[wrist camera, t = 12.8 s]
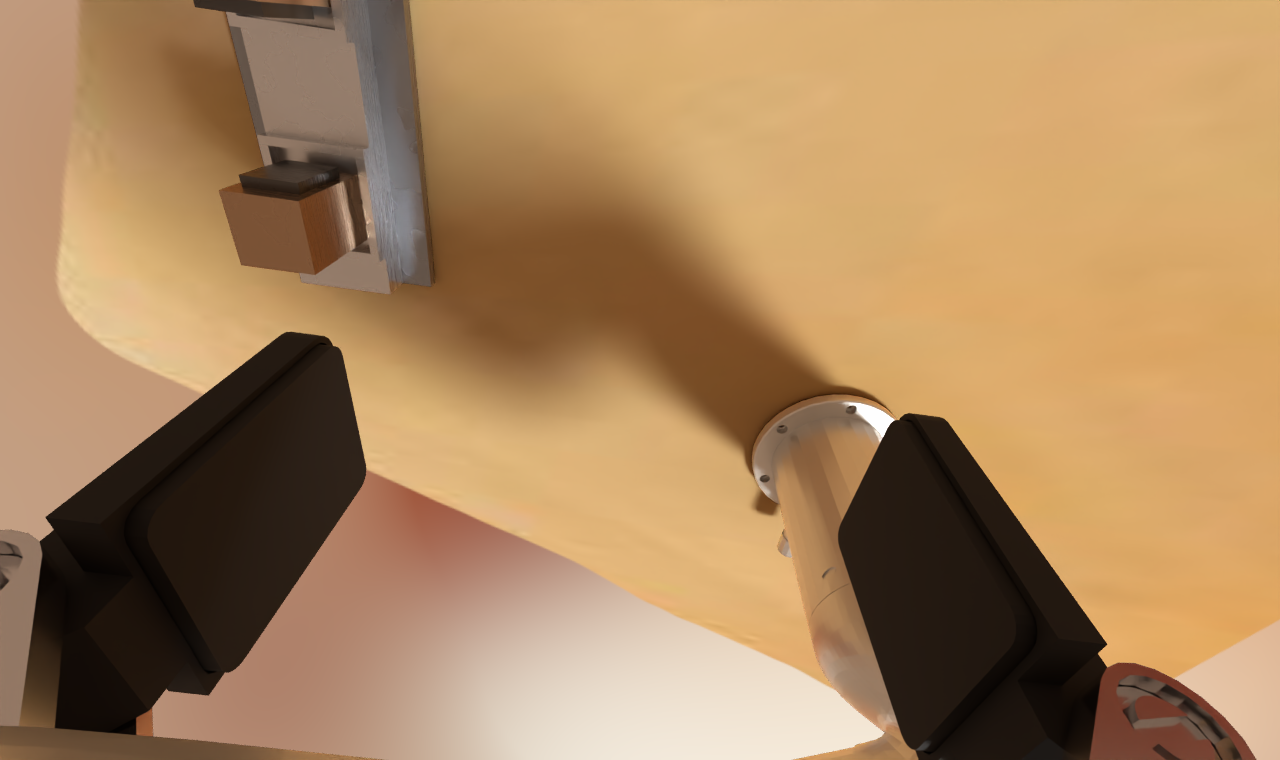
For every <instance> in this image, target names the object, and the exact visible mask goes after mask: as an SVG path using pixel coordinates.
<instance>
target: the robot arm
mask: <svg viewBox="0 0 1280 760" xmlns="http://www.w3.org/2000/svg"><path fill="white" fill-rule="evenodd" d="M752 468H753V472H754V476H755V479H756V482H757V484H758V486H759V488H760V489H761V490H762V491H763V492H764V494H765V495H766V496H767V497H769V498H770V499H771V500H773V501H774V502H775V503H777V504H779V505H780V508H781V512H782V517H783V521H784V525H785V529H784V530H783V532H782V535H781V537H780V540H779V542H778V545H777V547H778V550H779V552H780V553H781V554H783V555H784V556H786V557H790V558H791V557H792V559H793V564H794V568H795V572H796V576H797V581H798V585H799V589H800V594H801V598H802V602H803V606H804V611H805V615H806V619H807V623H808V628H809V632H810V635H811V640H812V644H813V648H814V652H815V655H816V658H817V660H818V663H819V665H820V667H821V669H822V671H823V673H824V674H825V676H826V678H827V679H828V681H829V682H830V684H831V685H832V686H833V687H834V689H835V690H836V691H837V692H838V693H839V694H840V695H841V696H842V697H843V698H844V699H845V700H846V701H847V702H848V703H849V704H850V705H851V706H852V707H854V708H855V709H856V710H857V711H858V712H859V713H861V714H862V715H863V716H865V717H866V718H867V719H868V720H869V721H871V722H872V723H873V724H874V725H876V726H877V727H878V728H880V729H881V730H882V731H883V732H885V733H884V735H883V736H882V737H880V738H878V739H876V740H873V741H869V742H866V743H862V744H857V745H855V747H853V748H848V749H843V750H839V751H833V752H829V753H823V754H819V755H814V756H809V757H804V758H799V759H794V760H1256V758H1255V756H1254V755H1253V753H1252V752H1251V750H1250V749H1249V747H1248V746H1247V744H1246V742H1245V741H1244V739H1243V738H1242V737H1241V736H1240V734H1239V733H1238V732H1237V731H1236V730H1235V729H1234V728H1233V727H1232V726H1231V724H1230V723H1229V722H1228V721H1227V720H1226V719H1225V718H1224V717H1223V716H1222V715H1221V714H1220V713H1219V712H1218V711H1217V710H1215V709H1214V708H1213V707H1212V706H1211V705H1210V704H1209V703H1207V702H1206V701H1205V700H1204V699H1203V698H1202V697H1201V696H1199V695H1198V694H1196V693H1195V692H1193V691H1192V690H1190V689H1189V688H1187V687H1186V686H1184V685H1183V684H1181V683H1180V682H1179V681H1177V680H1175V679H1173V678H1171V677H1169V676H1167V675H1165V674H1163V673H1161V672H1159V671H1157V670H1155V669H1152V668H1149V667H1145V666H1142V665H1139V664H1136V663H1116V664H1114V665H1112V666H1110V667H1107V666H1106V665H1105V663H1104V662H1103V661H1102V659H1101V658H1100V656H1099V655H1098V653H1099V652H1100V651H1101V650H1102V649H1103V648H1104V647H1105V646H1106V645H1107V643H1106V642H1105V640H1104V639H1103V638H1102V636H1101V635H1100V633H1099V632H1098V631H1097V629H1096V628H1095V626H1094V625H1093V624H1092V622H1091V621H1090V620H1089V618H1088V617H1087V615H1086V614H1085V613H1084V611H1083V610H1082V608H1081V607H1080V606H1079V604H1078V603H1077V601H1076V600H1075V599H1074V597H1073V596H1072V594H1071V593H1070V592H1069V590H1068V589H1067V587H1066V586H1065V585H1064V583H1063V582H1062V581H1061V579H1060V578H1059V576H1058V575H1057V574H1056V572H1055V571H1054V569H1053V568H1052V567H1051V565H1050V564H1049V562H1048V561H1047V560H1046V558H1045V557H1044V555H1043V554H1042V553H1041V551H1040V550H1039V548H1038V547H1037V546H1036V544H1035V543H1034V541H1033V540H1032V539H1031V537H1030V536H1029V535H1028V533H1027V532H1026V530H1025V529H1024V528H1023V526H1022V525H1021V523H1020V522H1019V521H1018V519H1017V518H1016V516H1015V515H1014V514H1013V512H1012V511H1011V509H1010V508H1009V507H1008V505H1007V504H1006V502H1005V501H1004V500H1003V498H1002V497H1001V496H1000V494H999V493H998V491H997V490H996V489H995V487H994V486H993V484H992V483H991V482H990V480H989V479H988V477H987V476H986V475H985V473H984V472H983V470H982V469H981V468H980V466H979V465H978V463H977V462H976V461H975V459H974V458H973V457H972V455H971V454H970V452H969V451H968V450H967V448H966V447H965V445H964V444H963V443H962V441H961V440H960V438H959V437H958V436H957V434H956V433H955V431H954V430H953V429H952V427H951V426H950V424H949V423H948V422H947V421H946V420H945V419H944V418H940V417H934V416H927V415H919V414H911V413H908V414H905V415H903V416H902V417H901V418H900V420H897V419H896V418H895V417H894V416H893V415H892V414H891V413H890V412H889V411H888V410H887V409H886V408H885V407H883V406H881V405H880V404H878V403H876V402H874V401H871V400H869V399H866V398H863V397H858V396H853V395H835V394H832V395H825V396H818V397H814V398H810V399H807V400H804V401H801V402H799V403H796V404H794V405H792V406H790V407H788V408H786V409H785V410H783V411H782V412H780V413H779V414H777V415H776V416H775V417H774V418H773V419H772V420H771V421H769V422H768V423H767V424H766V425H765V427H764V428H763V430H762V431H761V432H760V434H759V435H758V437H757V439H756V442H755V444H754V447H753V452H752ZM365 476H366V463H365V459H364V454H363V449H362V445H361V440H360V435H359V430H358V426H357V421H356V416H355V412H354V407H353V402H352V397H351V393H350V388H349V383H348V379H347V374H346V369H345V364H344V360H343V355H342V352H341V350H340V349H339V348H338V347H336V346H333V345H332V343H331V341H330V340H329V339H328V338H327V337H325V336H319V335H311V334H303V333H296V332H286V333H284V334H282V335H280V336H279V337H278V338H276V339H275V340H274V341H273V342H271V343H270V344H269V345H267V346H266V347H265V348H264V349H262V350H261V351H260V352H258V353H257V354H256V355H254V356H253V357H252V358H251V359H249V360H248V361H247V362H245V363H244V364H243V365H242V366H240V367H239V368H238V369H236V370H235V371H234V372H232V373H231V374H230V375H229V376H227V377H226V378H225V379H223V380H222V381H221V382H220V383H218V384H217V385H216V386H214V387H213V388H212V389H211V390H209V391H208V392H207V393H205V394H204V395H203V396H201V397H200V398H199V399H198V400H196V401H195V402H194V403H192V404H191V405H190V406H189V407H187V408H186V409H185V410H183V411H182V412H181V413H180V414H178V415H177V416H176V417H175V418H173V419H172V420H170V421H169V422H168V423H167V424H165V425H164V426H163V427H161V428H160V429H159V430H158V431H156V432H155V433H154V434H152V435H151V436H150V437H148V438H147V439H146V440H145V441H143V442H142V443H141V444H139V445H138V446H137V447H136V448H134V449H133V450H132V451H130V452H129V453H128V454H126V455H125V456H124V457H123V458H121V459H120V460H119V461H117V462H116V463H115V464H114V465H112V466H111V467H110V468H108V469H107V470H106V471H105V472H103V473H102V474H101V475H99V476H98V477H97V478H96V479H94V480H93V481H92V482H91V483H89V484H88V485H86V486H85V487H84V488H83V489H81V490H80V491H79V492H77V493H76V494H75V495H73V496H72V497H71V498H70V499H68V500H67V501H66V502H65V503H63V504H62V505H61V506H59V507H58V508H57V509H55V510H54V511H53V512H52V513H50V514H49V515H48V516H46V519H47V520H48V522H49V523H50V524H51V526H52V527H53V529H54V530H53V531H52V532H51V533H50V534H49V535H47V536H46V537H45V538H43V539H42V540H41V541H40V542H39V541H38V540H37V539H36V538H34V537H33V536H32V535H30V534H29V533H24V532H19V531H14V530H0V760H382V759H372V758H363V757H353V756H342V755H333V754H324V753H314V752H304V751H295V750H284V749H275V748H265V747H256V746H246V745H237V744H227V743H217V742H208V741H198V740H187V739H175V738H163V737H153V712H152V707H153V705H154V704H155V703H156V701H157V700H158V698H160V696H161V695H162V694H163V692H164V691H165V690H166V688H167V690H168V691H173V692H181V693H190V694H199V695H200V694H201V695H209V694H210V693H211V692H212V690H213V689H214V687H215V686H216V684H217V683H218V681H219V680H220V679H221V677H222V676H223V674H224V673H225V672H231V671H233V670H234V669H236V668H237V667H238V666H239V665H240V664H241V663H242V661H243V660H244V659H245V657H246V656H247V654H248V653H249V651H250V650H251V648H252V647H253V645H254V644H255V643H256V641H257V640H258V638H259V637H260V635H261V634H262V632H263V631H264V629H265V628H266V627H267V625H268V623H269V622H270V621H271V619H272V618H273V616H274V615H275V613H276V612H277V610H278V609H279V607H280V606H281V604H282V603H283V602H284V600H285V598H286V597H287V596H288V594H289V593H290V591H291V589H292V588H293V587H294V585H295V584H296V582H297V581H298V580H299V578H300V577H301V575H302V574H303V572H304V571H305V569H306V568H307V566H308V565H309V563H310V562H311V560H312V559H313V557H314V556H315V555H316V553H317V552H318V550H319V549H320V547H321V546H322V544H323V543H324V541H325V540H326V538H327V537H328V535H329V534H330V532H331V531H332V529H333V528H334V527H335V525H336V524H337V522H338V521H339V519H340V518H341V516H342V515H343V513H344V512H345V510H346V509H347V507H348V506H349V505H350V503H351V502H352V500H353V499H354V497H355V496H356V494H357V493H358V491H359V490H360V488H361V487H362V485H363V482H364V479H365Z"/></svg>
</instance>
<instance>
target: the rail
mask: <svg viewBox="0 0 1280 760" xmlns="http://www.w3.org/2000/svg"><path fill="white" fill-rule="evenodd" d="M330 1H331V7H321V6H312V8H313V14H314V19H292V18H268V17H258V16H252V15H245V14H238V13H232V12H226V15H227V19H228V23H229V27H230V31H231V35H232V39H233V43H234V47H235V51H236V55H237V59H238V63H239V67H240V71H241V75H242V79H243V83H244V87H245V91H246V95H247V99H248V103H249V107H250V111H251V115H252V119H253V123H254V127H255V131H256V135H257V139H258V143H259V147H260V151H261V155H262V159H263V163H264V167H261V168H258V169H255V170H252V171H249V172H246V173H243V174H240V175H239V177H240V181H241V183H238V184H235V185H232V186H229V187H227V188H224V189H221V190H219V193H220V196H221V199H222V203H223V206H224V209H225V213H226V216H227V219H228V223H229V226H230V229H231V233H232V236H233V239H234V242H235V246H236V249H237V252H238V256H239V259H240V262H241V265H244V266H252V267H259V268H266V269H274V270H281V271H289V272H296V273H299V274H300V278H301V282H302V283H309V284H316V285H324V286H331V287H339V288H346V289H354V290H361V291H369V292H376V293H383V294H392V293H393V292H394V291H395V290H396V289H397V288H398V287H399V286H400V285H401V284H402V283H407V284H414V285H422V286H429V287H431V286H432V285H433V284H434V283H435V276H434V265H433V254H432V243H431V233H430V222H429V211H428V200H427V189H426V179H425V168H424V157H423V146H422V135H421V124H420V114H419V103H418V92H417V81H416V70H415V59H414V49H413V38H412V27H411V16H410V5H409V0H330Z"/></svg>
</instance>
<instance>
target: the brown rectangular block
mask: <svg viewBox="0 0 1280 760" xmlns="http://www.w3.org/2000/svg"><path fill="white" fill-rule="evenodd" d="M193 1H194V4H195V7H198V8H205V9H212V10H218V11H225V12H232V13H238V14H245V15H252V16H258V17H268V18H292V19H314V14H313V8H312V6H321V7H331V1H330V0H193Z"/></svg>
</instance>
